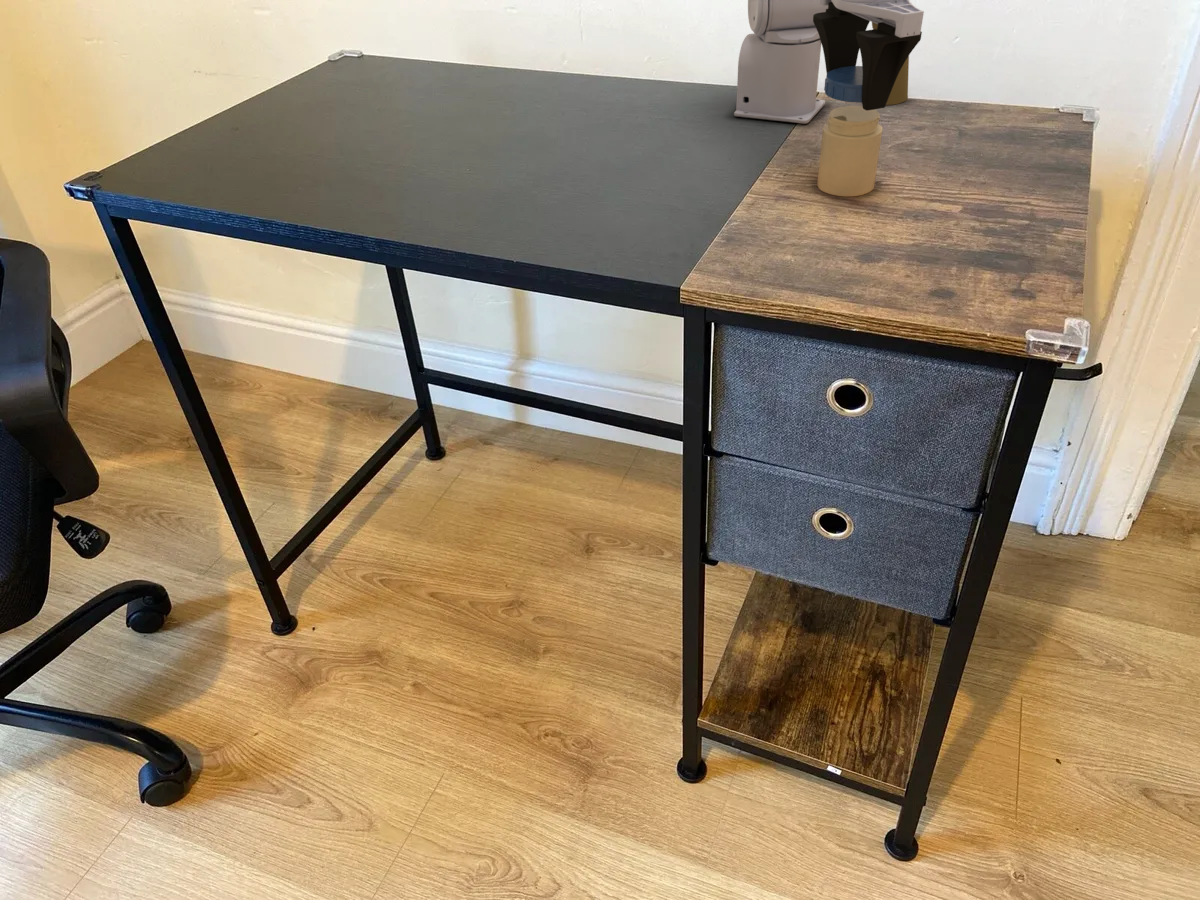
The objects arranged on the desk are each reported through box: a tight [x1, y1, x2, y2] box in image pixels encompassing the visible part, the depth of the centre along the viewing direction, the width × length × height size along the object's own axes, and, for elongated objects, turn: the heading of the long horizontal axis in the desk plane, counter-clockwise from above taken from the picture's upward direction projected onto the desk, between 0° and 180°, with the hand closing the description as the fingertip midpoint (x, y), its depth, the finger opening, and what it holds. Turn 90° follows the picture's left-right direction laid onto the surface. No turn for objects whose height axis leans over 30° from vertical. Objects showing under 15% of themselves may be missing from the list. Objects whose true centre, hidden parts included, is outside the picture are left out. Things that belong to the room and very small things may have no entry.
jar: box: [816, 105, 883, 197], centre depth 89 cm, size 6×6×7 cm
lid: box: [823, 65, 863, 103], centre depth 85 cm, size 6×6×2 cm
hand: (856, 98), depth 86 cm, fingers closed on lid, 6 cm apart
